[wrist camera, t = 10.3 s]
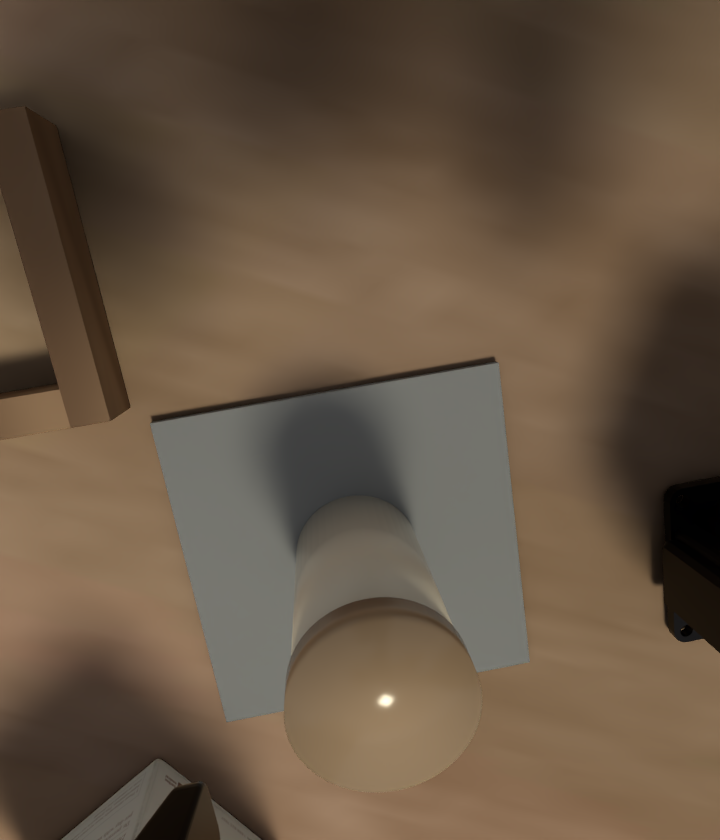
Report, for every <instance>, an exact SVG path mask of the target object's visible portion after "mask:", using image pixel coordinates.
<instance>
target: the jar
mask: <svg viewBox="0 0 720 840" xmlns="http://www.w3.org/2000/svg"><path fill="white" fill-rule="evenodd" d="M481 712H482V689H481V684H480V680H479V677H478V674H477V672H476V669H475V667H474V664H473V662H472V660H471V657H470V655H469V653H468V650H467V648H466V646H465V643H464V641H463V640H462V638H461V636H460V634H459V633H458V631H457V630H456V629H455V628H454V626H453V625H452V622H451V620H450V618H449V615H448V613H447V610H446V608H445V605H444V603H443V601H442V598H441V596H440V593H439V591H438V589H437V586H436V584H435V581H434V579H433V576H432V574H431V572H430V569H429V567H428V564H427V562H426V559H425V557H424V555H423V552H422V550H421V547H420V545H419V543H418V540H417V538H416V535H415V533H414V530H413V528H412V526H411V524H410V522H409V521H408V519H407V518H406V517H405V515H404V514H403V513H402V512H401V511H400V510H399V509H397V508H396V507H395V506H393V505H392V504H390V503H388V502H386V501H384V500H381V499H379V498H375V497H371V496H364V495H355V496H347V497H343V498H339V499H336V500H334V501H331V502H329V503H328V504H326V505H324V506H323V507H321V508H320V509H318V510H317V511H316V512H315V513H314V514H313V515H312V516H311V517H310V518H309V520H308V521H307V522H306V524H305V525H304V527H303V529H302V531H301V533H300V536H299V539H298V543H297V551H296V570H295V590H294V609H293V628H292V648H291V658H290V661H289V664H288V667H287V674H286V683H285V699H284V723H285V729H286V733H287V736H288V739H289V742H290V744H291V746H292V748H293V750H294V752H295V753H296V754H297V756H298V757H299V759H300V760H301V761H302V762H303V763H304V764H305V765H306V766H307V768H309V769H310V770H311V771H312V772H314V773H315V774H316V775H317V776H319V777H321V778H322V779H324V780H326V781H327V782H330V783H332V784H334V785H336V786H339V787H342V788H346V789H349V790H354V791H359V792H371V793H379V792H391V791H397V790H402V789H406V788H409V787H413V786H415V785H418V784H420V783H423V782H425V781H427V780H429V779H431V778H433V777H435V776H436V775H438V774H439V773H441V772H442V771H444V770H445V769H446V768H447V767H449V766H450V765H451V764H452V763H453V762H454V761H455V760H456V759H457V758H458V757H459V756H460V755H461V754H462V753H463V751H464V750H465V749H466V747H467V746H468V745H469V743H470V741H471V740H472V738H473V736H474V734H475V732H476V729H477V727H478V724H479V721H480V716H481Z"/></svg>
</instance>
